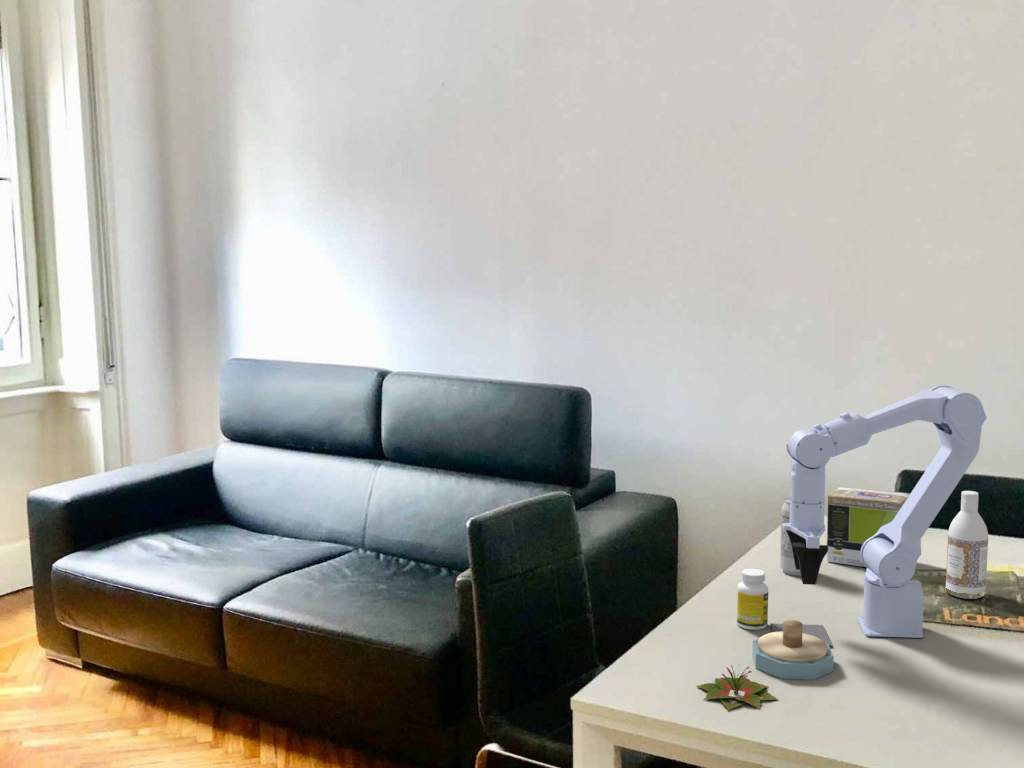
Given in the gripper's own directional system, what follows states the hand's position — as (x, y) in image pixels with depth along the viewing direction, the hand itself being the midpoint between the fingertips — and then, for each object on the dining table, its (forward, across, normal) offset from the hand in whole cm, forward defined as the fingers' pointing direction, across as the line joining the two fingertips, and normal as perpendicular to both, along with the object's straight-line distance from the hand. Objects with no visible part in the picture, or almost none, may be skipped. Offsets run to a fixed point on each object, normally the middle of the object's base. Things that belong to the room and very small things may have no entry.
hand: (805, 576), depth 175 cm
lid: (+7, +14, -4) cm, 16 cm away
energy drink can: (+10, -32, +3) cm, 34 cm away
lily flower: (+11, +26, -14) cm, 31 cm away
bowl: (+10, +14, -4) cm, 18 cm away
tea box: (+10, -40, +19) cm, 45 cm away
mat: (+10, +2, -1) cm, 10 cm away
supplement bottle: (+10, -2, -9) cm, 13 cm away
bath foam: (+10, -21, +33) cm, 40 cm away
